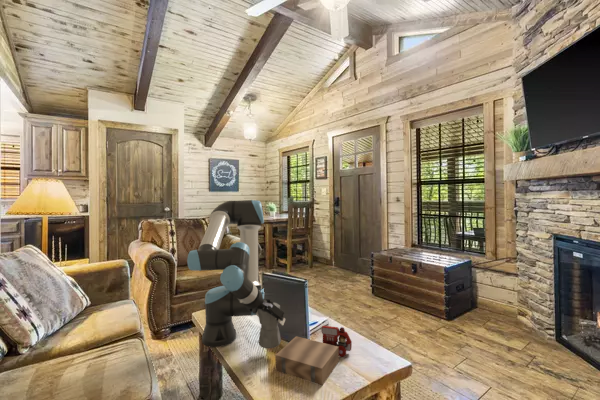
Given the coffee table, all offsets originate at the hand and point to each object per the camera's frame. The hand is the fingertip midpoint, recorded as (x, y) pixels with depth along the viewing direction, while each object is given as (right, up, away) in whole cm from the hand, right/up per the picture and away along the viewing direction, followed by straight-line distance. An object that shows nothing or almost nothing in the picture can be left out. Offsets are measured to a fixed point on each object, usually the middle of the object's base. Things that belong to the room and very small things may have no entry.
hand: (273, 319), depth 124 cm
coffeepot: (-1, -8, -2) cm, 9 cm away
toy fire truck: (+26, -13, -1) cm, 29 cm away
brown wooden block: (+14, -13, -11) cm, 22 cm away
